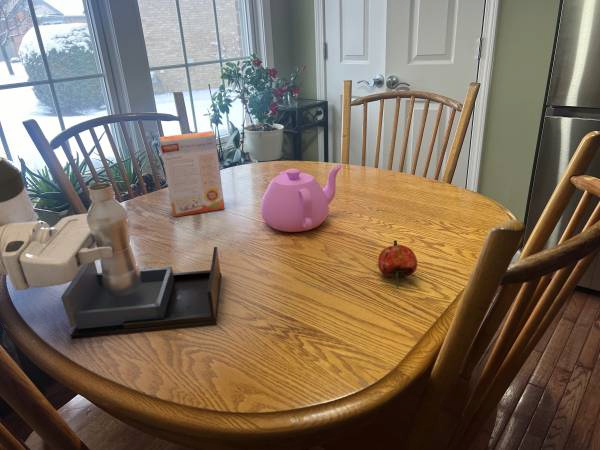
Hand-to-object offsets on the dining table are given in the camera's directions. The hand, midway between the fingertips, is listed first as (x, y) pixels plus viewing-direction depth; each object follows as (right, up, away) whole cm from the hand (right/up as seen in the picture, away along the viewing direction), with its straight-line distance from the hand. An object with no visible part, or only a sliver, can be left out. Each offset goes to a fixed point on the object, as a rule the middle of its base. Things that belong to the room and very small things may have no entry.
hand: (118, 241), depth 75 cm
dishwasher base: (+4, -12, +6) cm, 14 cm away
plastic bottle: (0, -9, +4) cm, 10 cm away
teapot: (+32, +4, +38) cm, 50 cm away
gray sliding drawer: (-1, -11, +5) cm, 13 cm away
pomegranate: (+50, -8, +11) cm, 52 cm away
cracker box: (+3, +7, +47) cm, 47 cm away
